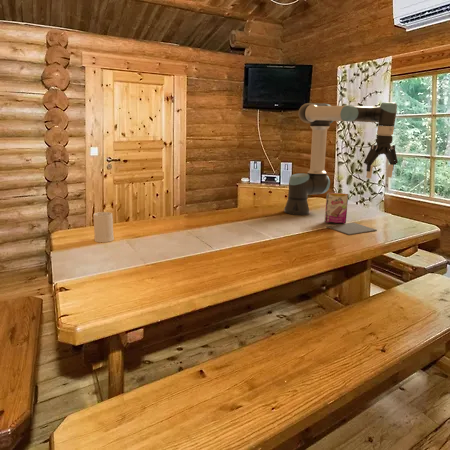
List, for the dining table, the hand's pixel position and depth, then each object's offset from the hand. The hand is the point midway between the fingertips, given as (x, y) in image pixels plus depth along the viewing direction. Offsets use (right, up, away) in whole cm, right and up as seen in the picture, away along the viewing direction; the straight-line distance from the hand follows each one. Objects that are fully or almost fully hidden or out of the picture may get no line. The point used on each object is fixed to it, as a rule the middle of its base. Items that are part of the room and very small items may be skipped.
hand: (378, 177), depth 201 cm
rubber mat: (-12, -26, +7) cm, 30 cm away
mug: (-134, -31, -22) cm, 139 cm away
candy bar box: (-17, -23, +17) cm, 34 cm away
